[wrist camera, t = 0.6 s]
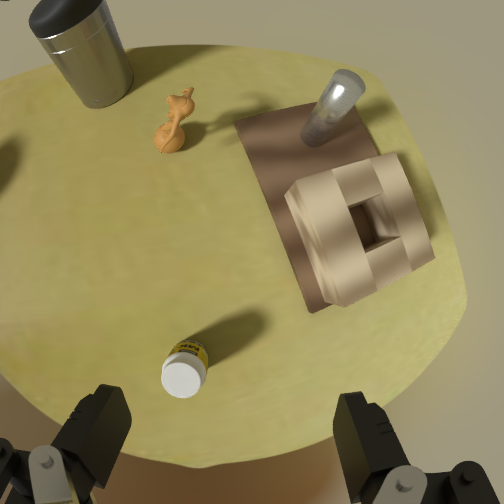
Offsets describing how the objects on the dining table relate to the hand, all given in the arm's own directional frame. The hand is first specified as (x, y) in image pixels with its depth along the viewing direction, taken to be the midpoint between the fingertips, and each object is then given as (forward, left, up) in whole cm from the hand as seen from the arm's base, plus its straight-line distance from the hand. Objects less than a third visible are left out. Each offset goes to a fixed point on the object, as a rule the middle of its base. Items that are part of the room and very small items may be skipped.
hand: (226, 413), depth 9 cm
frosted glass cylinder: (-17, +19, -24) cm, 35 cm away
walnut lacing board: (-9, +19, -25) cm, 33 cm away
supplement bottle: (+4, -6, -26) cm, 27 cm away
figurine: (-22, +2, -26) cm, 34 cm away
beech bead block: (-4, +19, -24) cm, 31 cm away
